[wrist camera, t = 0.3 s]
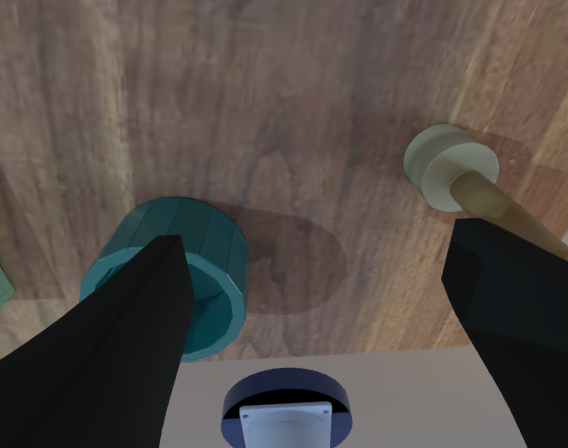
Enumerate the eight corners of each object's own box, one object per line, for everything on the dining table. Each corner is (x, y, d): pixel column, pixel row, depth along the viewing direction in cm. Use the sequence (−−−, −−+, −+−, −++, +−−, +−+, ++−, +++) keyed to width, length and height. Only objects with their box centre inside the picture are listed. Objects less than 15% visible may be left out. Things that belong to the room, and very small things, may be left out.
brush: (462, 185, 18) (605, 325, 10) (398, 188, 18) (494, 332, 10) (478, 121, 16) (664, 234, 9) (408, 125, 16) (531, 241, 9)
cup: (254, 299, 22) (251, 358, 18) (134, 305, 22) (108, 366, 18) (242, 193, 18) (235, 242, 14) (96, 200, 18) (53, 251, 14)
